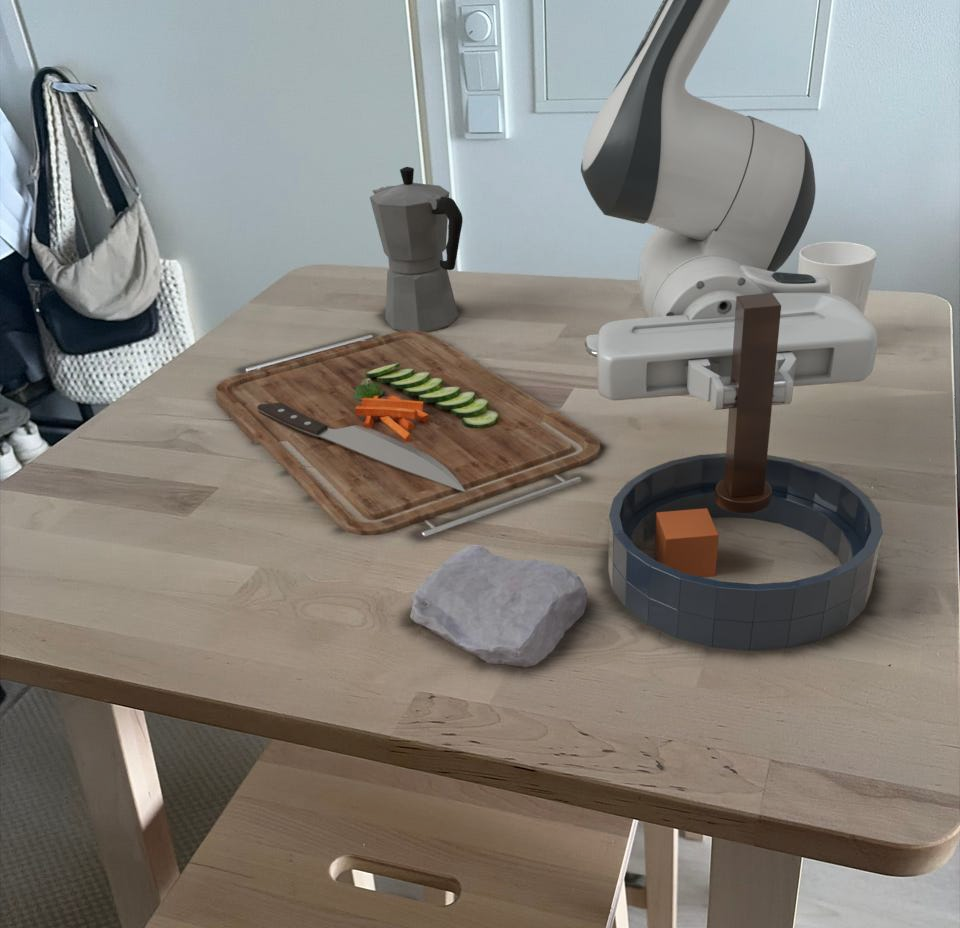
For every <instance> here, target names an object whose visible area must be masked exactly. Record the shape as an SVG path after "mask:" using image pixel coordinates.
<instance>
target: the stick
mask: <svg viewBox="0 0 960 928" xmlns="http://www.w3.org/2000/svg"><path fill="white" fill-rule="evenodd" d="M780 315H781V304H780V303H779V302H778V300H777V299H776V297H775V296H774V295H773V293H765V294H755V295H744V296H737V297H736V310H735V325H734V340H733V355H732V370H731V376H732V377H733V379H734V382H735V383H736V385H737V397H736V398H735V399H736V401H737V402H736V408H729V409H728V417H727V433H726V446H725V447H726V448H725V453H726V461H725V476H724V479H723V480H722V481H720V482H719V483H718V484H717V486H716V494H715V500H716V503H717V504H718V506H720V507H721V508H722V509H724V510H727V511H729V512H733V513H741V514H747V513H755V512H759V511H761V510H763V509H765V508H766V507H768V505H769V504H770V501H771V492H772V489H771V486H770V485H769V484H768V483H767V482H766V481H765V475H766V465H767V455H769V454H768V453H769V452H768V451H769V442H770V431H771V421H772V410H773V405H772V400H773V390H774V379H775V368H776V357H777V347H778V336H779V325H780Z"/></svg>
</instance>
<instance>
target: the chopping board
mask: <svg viewBox="0 0 960 928" xmlns="http://www.w3.org/2000/svg"><path fill="white" fill-rule="evenodd" d="M214 394H215V398H216V402H217V404H218V406H219V407H220V408H221V409H222V410H223V412H225V414H226V415H227V416H228V418H230V419H231V421H233V423H235V424H236V426H237V427H238V428H239V429H241V430H242V432H243V433H244V434H245V435H246V436H247V437H248V438H249V439H250V440H251V442H253V443H254V444H259V445H260V446H262V447H263V448H264V449H265V450H266V451H267V452H268V453H269V454H270V455H271V457H273V458H274V460H275V461H276V462H277V463H278V464H279V465H280V466H281V467H282V469H284V470H285V471H286V472H287V473H288V474H289V475H290V476H291V478H292V479H293V480H294V481H295V482H296V483H297V484H298V485H299V486H300V487H301V488H302V489H303V490H304V491H305V492H306V494H307V495H309V497H310V498H312V499H313V501H314V502H315V503H316V504H317V505H318V506H319V507H320V508H321V509H322V510H323V511H324V512H325V514H327V515H328V517H330V519H332V520H333V522H334V523H335V524H336V525H337V526H338V527H339V528H341V529H342V530H343V531H346V532H347V533H350V534H354V535H358V536H377V535H381V534H387V533H391V532H394V531H396V530H400V529H403V528H405V527H408V526H411V525H414V524H416V523H420V522H424V523H425V524H426V525H427V526H428V527H429V529H427V530H424V531H421V533H420V534H421V535H422V536H423V537H424V538H425V537H428V536H431V535H434V534H436V533H440V532H442V531H446V530H448V529H451V528H453V527H456V526H460V525H462V524H465V523H468V522H471V521H473V520H476V519H478V518H482V517H485V516H488V515H491V514H493V513H495V512H498V511H501V510H504V509H507V508H509V507H513V506H516V505H518V504H521V503H524V502H527V501H529V500H532V499H536V498H538V497H540V496H543V495H546V494H549V493H552V492H554V491H558V490H561V489H563V488H567V487H570V486H572V485H575V484H577V483H580V482H582V481H583V480H582V478H581V477H580V476H576V477H574V478H573V477H572V478H570V479H568V480H567V479H565V478H563V477H562V476H560V475H559V474H560V473H563V472H565V471H568V470H572V469H575V468H577V467H580V466H583V465H586V464H588V463H590V462H592V461H594V460H595V459H597V457H599V455H600V454H601V441H600V440H599V439H598V438H597V437H596V436H595V435H594V434H593V433H591V432H589V431H587V430H586V429H584V428H583V427H581V426H580V425H578V424H576V423H574V422H573V421H571V420H570V419H568V418H567V417H565V416H564V415H562V414H561V413H558V412H557V411H555V410H554V409H552V408H551V407H549V406H547V405H546V404H544V403H542V402H541V401H539V400H538V399H536V398H534V397H533V396H531V395H530V394H528V393H527V392H525V391H524V390H521V389H520V388H518V387H517V386H515V385H514V384H512V383H510V382H509V381H508V380H506V379H505V378H502V377H501V376H499V375H498V374H496V373H494V372H493V371H492V370H490V369H488V368H487V367H485V366H484V365H481V364H480V363H479V362H477V361H475V360H473V359H472V358H471V357H469V356H467V355H466V354H464V353H462V352H461V351H459V350H458V349H456V348H454V347H453V346H451V345H450V344H448V343H446V342H445V341H444V340H442V339H440V338H438V337H437V336H435V335H433V334H432V333H430V332H425V331H417V330H411V331H397V332H392V333H388V334H383V335H380V336H377V337H374V336H373V334H368V335H364V336H360V337H356V338H353V339H348V340H345V341H342V342H338V343H333V344H330V345H326V346H323V347H319V348H315V349H312V350H311V349H310V350H308V351H304V352H301V353H296V354H294V355H290V356H286V357H283V358H279V359H275V360H271V361H268V362H264V363H260V364H256V365H252V366H249V367H246V368H245V373H241V374H238V375H234V376H230V377H228V378H226V379H223V380H222V381H220V382H219V383H217V385H216V387H214ZM542 423H545V424H547V425H548V426H550V427H551V428H553V429H554V430H556V431H557V432H559V433H560V434H562V435H564V436H565V437H567V438H568V439H570V440H571V441H573V442H575V443H576V444H578V445H579V446H580V447H581V449H582V450H581V451H579V452H577V453H575V452H576V447H574V446H573V444H572V443H571V442H570V441H568V440H566V439H565V438H564V437H562V436H561V435H559V434H557V433H556V432H554V431H552V429H550V428H548V427H547V426H545V425H544V424H542ZM281 442H287V443H289V445H291V446H292V447H293V448H294V449H295V450H296V451H297V452H298V453H299V454H300V456H302V458H304V459H305V460H306V461H307V462H308V463H309V464H310V466H312V468H314V469H315V470H316V471H317V472H318V473H319V474H320V475H321V476H322V477H323V478H324V479H325V480H326V481H327V482H328V483H329V484H330V485H331V486H332V487H333V488H334V489H335V490H336V491H337V492H338V493H339V494H340V495H341V496H342V497H343V499H345V500H346V501H347V502H348V503H349V504H350V505H351V506H352V507H353V508H354V509H355V510H356V511H357V512H358V513H359V514H360V515H361V516H362V517H363V518H365V519H366V520H368V521H362V520H359V519H357V518H355V517H353V516H352V515H351V514H350V513H349V512H348V511H347V510H346V508H345V507H344V506H342V505H341V504H340V502H339V501H338V500H336V498H334V497H333V495H332V494H331V493H330V492H329V491H328V490H327V489H326V488H325V487H323V485H322V484H321V483H320V482H319V481H318V480H317V479H316V478H315V477H313V475H312V474H311V473H310V472H309V471H308V470H307V469H306V468H305V467H304V466H303V465H302V464H301V463H300V462H299V461H298V460H297V459H296V458H295V457H294V456H293V455H292V454H291V453H290V452H289V451H288V449H286V448H285V447H284V446H283V445H282V444H281ZM574 453H575V454H574ZM551 476H553V477H554V478H556V479H557V480H559V481H560V482H559V483H556V484H554V485H551V486H548V487H545V488H542V489H538V490H536V491H534V492H530V493H528V494H526V495H522V496H519V497H517V498H514V499H511V500H508V501H505V502H502V503H500V504H496V505H494V506H491V507H489V508H486V509H482V510H480V511H477V512H474V513H472V514H468V515H466V516H463V517H461V518H457V519H455V520H452V521H449V522H445V523H443V524H441V525H438V526H436V525H435V524H433V522H431V521H430V520H429V519H431V518H434V517H437V516H440V515H443V514H445V513H449V512H451V511H454V510H457V509H459V508H462V507H465V506H468V505H471V504H474V503H477V502H479V501H483V500H485V499H488V498H491V497H494V496H497V495H500V494H503V493H505V492H509V491H511V490H515V489H517V488H521V487H523V486H525V485H529V484H532V483H535V482H537V481H541V480H544V479H546V478H548V477H551ZM499 479H500V480H499ZM496 480H497V481H496ZM446 497H447V498H446ZM443 498H444V499H443ZM435 501H436V502H435ZM426 504H427V505H426ZM423 505H424V506H423ZM420 506H421V507H420ZM417 507H418V508H417ZM415 508H416V509H415ZM411 509H412V510H411ZM408 510H410V511H408ZM405 511H407V512H405ZM402 512H404V513H402ZM400 513H401V514H400ZM393 515H394V516H393ZM387 517H389V518H387ZM382 519H383V520H382Z"/></svg>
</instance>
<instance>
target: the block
mask: <svg viewBox="0 0 960 928" xmlns="http://www.w3.org/2000/svg"><path fill="white" fill-rule="evenodd" d="M654 536H655V537H654V555H655V558H656V561H657V562H658V563H661V564H663V565H666V566H668V567H671V568H673V569H676V570H678V571H680V572H683V573H685V574H690V575H694V576H699V577H703V578H707V577H709V578H710V577H716V573H717V572H716V571H717V562H718V550H719V540H720V539H719V538H720V534H719V532H718V529H717V528H716V525H715V523H714V521H713V518H711V516H710V514H709V511H708V509H707V508H704V509H692V510H680V511H667V512H657V513H656V533H655V535H654Z"/></svg>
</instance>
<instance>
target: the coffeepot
mask: <svg viewBox="0 0 960 928" xmlns="http://www.w3.org/2000/svg"><path fill="white" fill-rule="evenodd" d="M414 172H415V168H414V167H410V166H405V167H404V166H403V168H400V169H399V173H400V176H401V180H402V182H403V183H401V184H396V185H387V186H385V187H384V186H382V187H379V188H377V189H373V190H372V193H373V194H372V195H371V196H369V200H370V205H371V209H372V212H373V215H374V216H373V217H374V219H375V223H376V228H377V231H378V236H379V237H380V238H379V239H380V242H381V245H382V250H383V253H384V254H385V256H386V257H387V258H388V259H387V260H388V270H387V273H386V291H385V292H386V293H385V294H386V295H385V298H386V299H385V315H384V316H385V317H384V319H385V321H386V323H387V325H388V326H389V327H390V328H391V329H393V330H395V331H397V332H401V331H411V330H417V331H425V332H427V333H430V332H434V331H438V330H441V329H444V328H445V329H446V328H447V327H449V326H451V325H452V324H453V323H454V322H455V321H456V320H457V318H458V317H459V312H458V308H457V307H458V306H457V304H456V300H455V295H454V291H453V287H452V284H451V280H450V276H449V272H448V271H453V270H454V269H455V268H456V263H457V258H458V253H459V252H458V251H459V246H460V238H461V232H462V229H463V223H464V222H463V220H464V219H463V218H464V217H463V215H462V212H461V210H460V208H459V207H458V204H457V203H456V202H455V199H453V198H451V197H450V191H448V190H447V189H445V188H444V187H443V186H441V185H438V184H427V183H418V182H414V174H415V173H414ZM447 235H448V236H447ZM445 251H446V260H444V254H443V253H444V252H445Z"/></svg>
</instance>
